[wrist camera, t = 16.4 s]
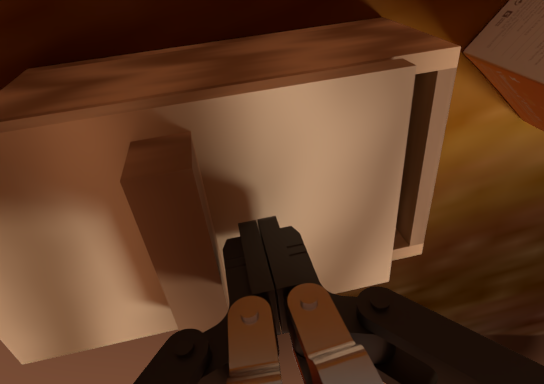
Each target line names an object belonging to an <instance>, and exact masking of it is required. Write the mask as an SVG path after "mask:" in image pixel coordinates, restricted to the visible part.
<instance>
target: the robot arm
mask: <svg viewBox="0 0 544 384" xmlns="http://www.w3.org/2000/svg"><path fill="white" fill-rule="evenodd" d="M257 222H258V225H257ZM257 222H256V220H252V221H247V222H242V223H238V227H239V232H240V237H235V238H230V239H227V240H226V242H225V245H224V247H223V257H224V265H225V273H226V280H227V288H228V296H229V309H228V312H227V314H226V316H225V317H224V318H223V320H222V321H221V322H219V323H218V324H217V325H215V326H214V327H212V328H210V329H208V330H207V331H205V332H201V331H200V330H197V329H192V328H191V329H183V330H180V331H178V332H176V333H175V334H173V335H172V336H171V337H170V338H169V339H168V340H167V341H166V342H165V344H164V345H163V346H162V347H161V349H160V350H159V351H158V353H157V354H156V355H155V356H154V358H153V359H152V360H151V362H150V363H149V364H148V366H147V367H146V368H145V369H144V371H143V372H142V373H141V374H140V376H139V377H138V378H137V380H136V381H135V382H134V383H133V384H282V379H281V371H280V365H279V358H278V357H279V345H278V338H277V335H280V334H281V332H280V326H281V330H282V334H284V333H288V332H289V334H290V337H291V341H292V347H293V354H294V357H295V360H296V362H297V365H298V368H299V371H300V374H301V377H302V379H303V382H304V384H384V383H383V382H385V383H386V384H544V366H543V365H540V364H538V363H537V362H535V361H533V360H531V359H529V358H526V357H525V356H523V355H520V354H518V353H516V352H514V351H512V350H510V349H508V348H506V347H504V346H502V345H500V344H498V343H496V342H494V341H492V340H490V339H488V338H486V337H484V336H482V335H480V334H478V333H476V332H474V331H472V330H470V329H468V328H466V327H464V326H462V325H460V324H458V323H456V322H454V321H452V320H450V319H448V318H446V317H444V316H442V315H440V314H438V313H436V312H434V311H432V310H430V309H428V308H426V307H424V306H422V305H420V304H418V303H416V302H414V301H412V300H410V299H408V298H406V297H404V296H402V295H399V294H397V293H395V292H393V291H391V290H389V289H387V288H384V287H370V288H367V289H365V290H363V291H362V292H361V293H360V294H359V296H358V297H349V296H339V295H335V294H333V293H331V292H329V291H327V290H326V289H325V288H324V287H323V286H322V285H321V283H320V281H319V279H318V277H317V274H316V272H315V269H314V267H313V264H312V262H311V259H310V257H309V254H308V253H307V249H306V247H305V245H304V242H303V240H302V237H301V235H300V233H299V232H298V231H297V230H296V229H294V228H293V227H292V226H288V227H283V228H280V227H279V224H278V221H277V218H276V216H271V217H266V218H261V219H257ZM279 322H280V325H279Z"/></svg>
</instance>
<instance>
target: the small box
mask: <svg viewBox="0 0 544 384" xmlns="http://www.w3.org/2000/svg"><path fill="white" fill-rule="evenodd" d="M463 53H464V55H465V56H466V57H467V58H468V59H469V60H470V61H471V62H472V63H473V64H474V65H475V66H476V67H477V68H478V69H479V70H480V71H481V72H482V73H483V74H484V75H485V76H486V78H487V79H488V80H489V81H490V82H491V83H492V84H493V86H494V87H495V88H496V89H497V90H498V91H499V92H500V93H501V95H502V96H503V97H504V98H505V99H506V101H507V102H508V103H509V104H510V105H511V106H512V108H513V109H514V110H515V111H516V112H517V114H518V115H519V116H520V117H521V119H522V120H523V121H525V122H527V123H529V124H531V125H533V126H535V127H537V128H538V129H540V130H542V131H544V0H509V1H508V2H507V4H506V5H505V6H504V7H503V8H502V9H501V10H500V11H499V12H498V13H497V15H496V16H495V17H494V18H493V19H492V20H491V21H490V22H489V23H488V24H487V25H486V27H485V28H484V29H483V30H482V31H481V32H480V33H479V34H478V36H477V37H476V38H475V39H474V40H473V41H472V42H471V43H470V44H469V46H468V47H467V48H466V49H465V50H464V52H463Z"/></svg>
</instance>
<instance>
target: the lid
mask: <svg viewBox="0 0 544 384" xmlns="http://www.w3.org/2000/svg"><path fill="white" fill-rule="evenodd" d="M416 66H417V65H415V64H413V63H411V62H409V61H407V60H405V59H403V58H400V59H394V60H388V61H381V62H375V63H369V64H362V65H356V66H350V67H344V68H337V69H331V70H325V71H318V72H312V73H306V74H300V75H293V76H287V77H281V78H274V79H268V80H262V81H256V82H249V83H243V84H237V85H230V86H224V87H218V88H211V89H205V90H199V91H193V92H186V93H180V94H174V95H167V96H161V97H155V98H149V99H142V100H136V101H130V102H123V103H117V104H111V105H105V106H98V107H92V108H86V109H79V110H73V111H67V112H60V113H54V114H48V115H42V116H35V117H29V118H23V119H16V120H10V121H4V122H0V340H1V341H2V342H3V343H4V344H5V345H6V347H7V348H8V349H9V350H10V351H11V352H12V353H13V355H14V356H15V357H16V358H17V359H18V360H19V361H20V363H22V364H27V363H32V362H36V361H41V360H45V359H49V358H54V357H58V356H62V355H67V354H71V353H76V352H80V351H85V350H88V349H93V348H98V347H102V346H107V345H111V344H115V343H120V342H124V341H128V340H133V339H137V338H142V337H146V336H150V335H155V334H159V333H164V332H168V331H173V330H177V329H179V331H180V330H183V329H191V328H192V329H197V330H200V331H201V332H205V331H207V330H208V329H210V328H212V327H214V326H215V325H217V324H218V323H219V322H221V321H222V320H223V318H224V317H225V316H226V314H227V312H228V309H229V296H228V288H227V280H226V273H225V265H224V257H223V247H224V245H225V242H226V240H227V239H230V238H235V237H240V232H239V227H238V223H242V222H247V221H252V220H256V222H257V219H261V218H266V217H271V216H276V218H277V221H278V224H279V227H280V228H283V227H288V226H292V227H293V228H294V229H296V230H297V231H298V232H299V233H300V235H301V237H302V240H303V242H304V245H305V247H306V249H307V253H308V254H309V257H310V259H311V262H312V264H313V267H314V269H315V272H316V274H317V277H318V279H319V281H320V283H321V285H322V286H323V287H324V288H325V289H326V290H327V291H329V292H331V293H333V294H336V293H340V292H344V291H349V290H353V289H358V288H362V287H366V286H371V285H375V284H380V283H384V282H388V281H389V276H390V269H391V261H392V253H393V245H394V237H395V230H396V222H397V214H398V206H399V198H400V191H401V183H402V175H403V167H404V159H405V152H406V144H407V136H408V128H409V120H410V113H411V105H412V97H413V89H414V81H415V73H416ZM257 225H258V222H257Z"/></svg>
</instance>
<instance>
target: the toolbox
mask: <svg viewBox="0 0 544 384" xmlns="http://www.w3.org/2000/svg"><path fill="white" fill-rule="evenodd" d="M460 49H461V46H459V45H456V44H454V43H451V42H448V41H446V40H443V39H440V38H438V37H435V36H432V35H429V34H427V33H424V32H421V31H419V30H416V29H413V28H411V27H408V26H405V25H402V24H400V23H397V22H394V21H392V20H389V19H386V18H384V17H381V18H374V19H367V20H360V21H353V22H346V23H339V24H332V25H326V26H319V27H312V28H305V29H298V30H291V31H284V32H277V33H271V34H264V35H257V36H250V37H243V38H236V39H229V40H222V41H216V42H209V43H202V44H195V45H188V46H181V47H174V48H167V49H161V50H154V51H147V52H140V53H133V54H126V55H119V56H112V57H106V58H99V59H92V60H85V61H78V62H71V63H64V64H57V65H51V66H44V67H37V68H30V69H27V70H25V71H24V72H23V73H22V74H20V75H19V76H18V77H17V78H15V79H14V80H13V81H12V82H10V83H9V84H8V85H7V86H5V87H4V88H3V89H2V90H0V122H4V121H10V120H16V119H23V118H29V117H35V116H42V115H48V114H54V113H60V112H67V111H73V110H79V109H86V108H92V107H98V106H105V105H111V104H117V103H123V102H130V101H136V100H142V99H149V98H155V97H161V96H167V95H174V94H180V93H186V92H193V91H199V90H205V89H211V88H218V87H224V86H230V85H237V84H243V83H249V82H256V81H262V80H268V79H274V78H281V77H287V76H293V75H300V74H306V73H312V72H318V71H325V70H331V69H337V68H344V67H350V66H356V65H362V64H369V63H375V62H381V61H388V60H394V59H400V58H403V59H405V60H407V61H409V62H411V63H413V64H415V65H417V66H416V73H415V81H414V89H413V97H412V105H411V113H410V120H409V128H408V136H407V144H406V152H405V159H404V167H403V175H402V183H401V191H400V198H399V206H398V214H397V222H396V230H395V237H394V245H393V253H392V260H397V259H401V258H406V257H410V256H415V255H419V254H422V249H423V243H424V238H425V233H426V228H427V222H428V217H429V212H430V207H431V201H432V196H433V191H434V186H435V180H436V175H437V170H438V165H439V159H440V154H441V149H442V144H443V138H444V133H445V128H446V123H447V117H448V112H449V107H450V102H451V96H452V91H453V86H454V81H455V75H456V70H457V65H458V60H459V55H460Z"/></svg>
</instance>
